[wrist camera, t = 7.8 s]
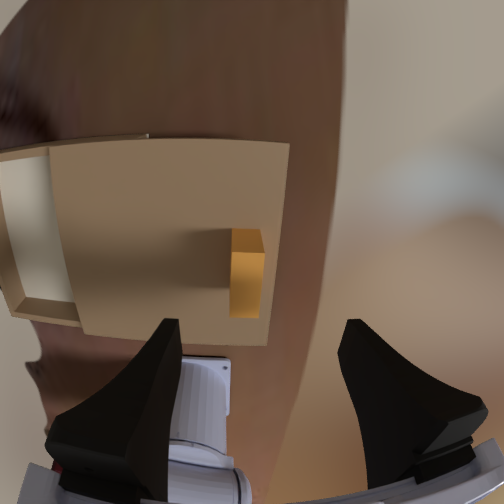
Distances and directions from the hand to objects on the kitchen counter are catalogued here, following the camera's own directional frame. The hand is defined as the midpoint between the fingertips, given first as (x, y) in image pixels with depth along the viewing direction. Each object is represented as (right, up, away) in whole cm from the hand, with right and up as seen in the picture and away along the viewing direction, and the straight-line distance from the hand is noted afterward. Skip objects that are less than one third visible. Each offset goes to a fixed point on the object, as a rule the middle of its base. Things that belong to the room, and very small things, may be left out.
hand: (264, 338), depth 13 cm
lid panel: (-6, +4, +6) cm, 9 cm away
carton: (-15, +5, +8) cm, 18 cm away
